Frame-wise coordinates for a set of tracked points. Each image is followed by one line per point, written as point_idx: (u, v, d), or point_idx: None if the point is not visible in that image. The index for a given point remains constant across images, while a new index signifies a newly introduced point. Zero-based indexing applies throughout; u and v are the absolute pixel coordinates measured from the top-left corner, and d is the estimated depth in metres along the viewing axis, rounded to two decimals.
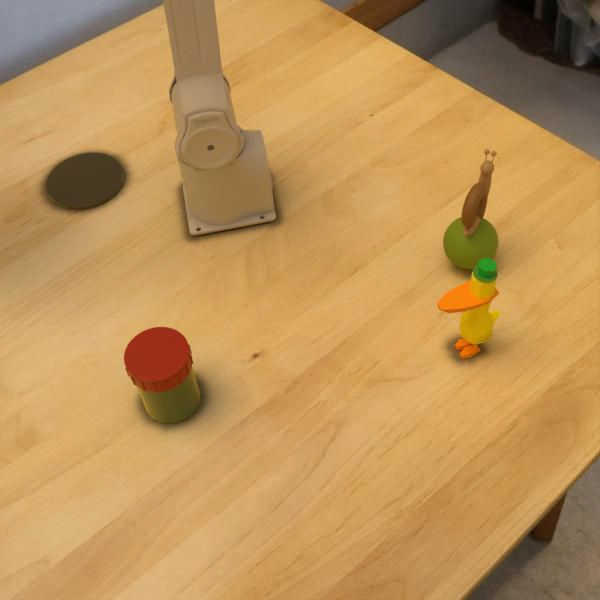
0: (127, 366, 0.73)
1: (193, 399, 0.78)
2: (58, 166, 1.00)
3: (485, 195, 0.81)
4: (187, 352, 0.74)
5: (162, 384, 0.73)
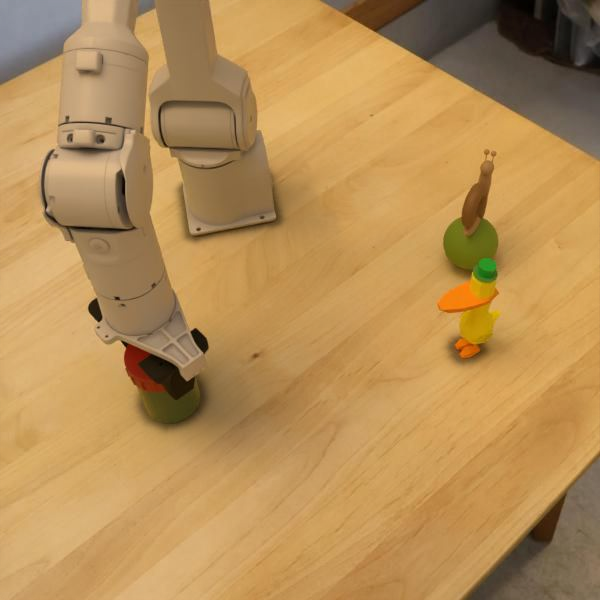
0: (127, 366, 0.73)
1: (193, 399, 0.78)
2: None
3: (485, 195, 0.81)
4: None
5: None
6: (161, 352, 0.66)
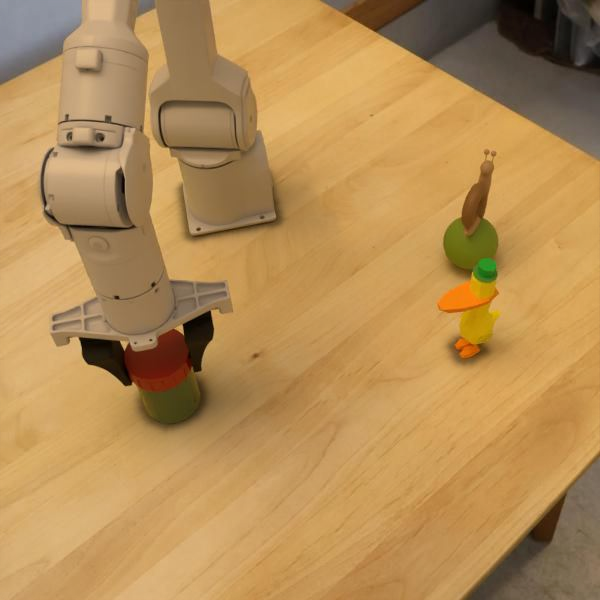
0: (152, 378, 0.72)
1: (194, 399, 0.78)
2: None
3: (485, 195, 0.81)
4: (175, 330, 0.75)
5: (188, 363, 0.74)
6: (201, 307, 0.68)
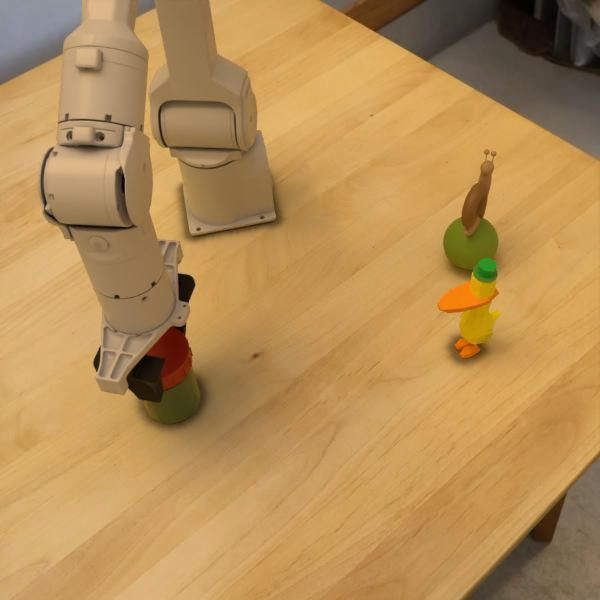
0: (182, 361, 0.73)
1: (194, 399, 0.78)
2: None
3: (485, 195, 0.81)
4: None
5: None
6: (175, 262, 0.71)
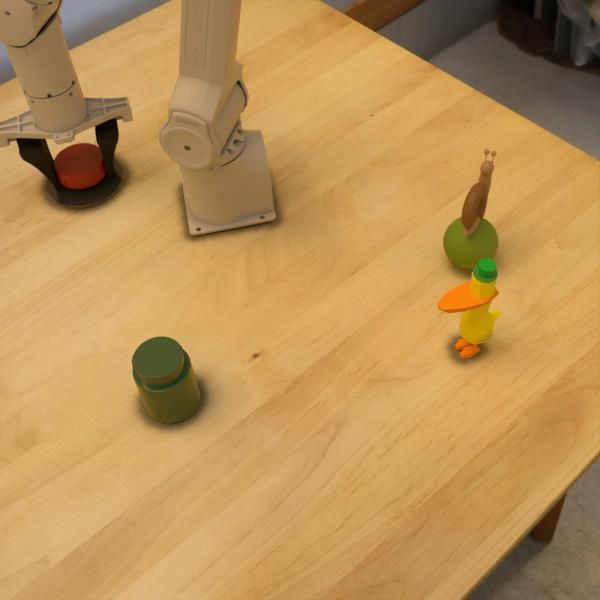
0: (74, 176, 0.95)
1: (194, 399, 0.78)
2: None
3: (485, 195, 0.81)
4: (93, 144, 0.98)
5: (103, 167, 0.97)
6: (108, 113, 0.91)
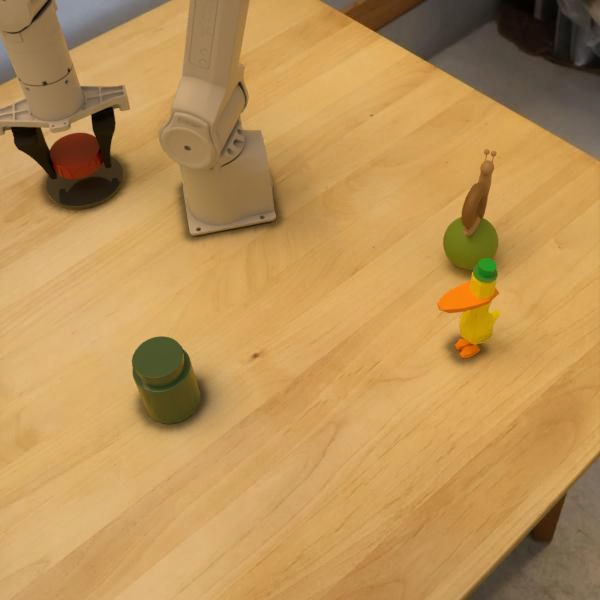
0: (70, 165, 0.94)
1: (194, 399, 0.78)
2: None
3: (485, 195, 0.81)
4: (89, 134, 0.97)
5: (99, 157, 0.95)
6: (104, 101, 0.90)
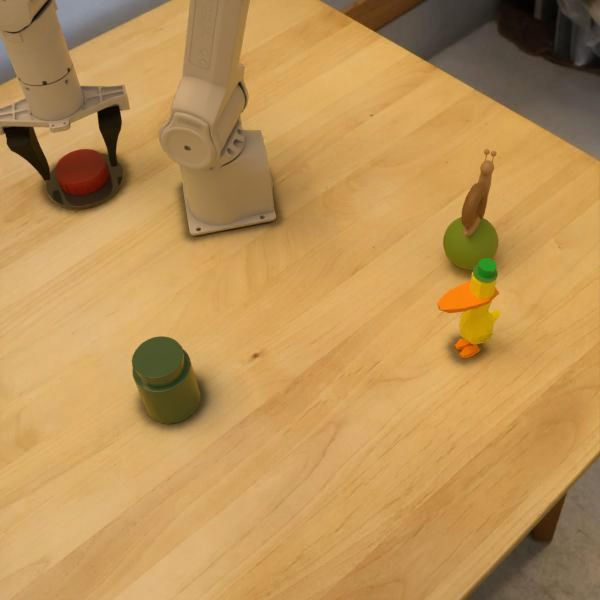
0: (76, 182, 0.96)
1: (194, 399, 0.78)
2: None
3: (485, 195, 0.81)
4: (94, 151, 0.99)
5: (104, 173, 0.97)
6: (104, 101, 0.90)
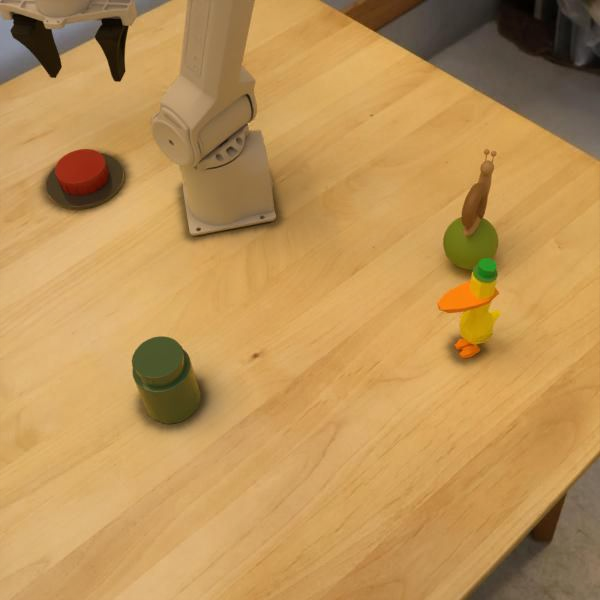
0: (76, 182, 0.96)
1: (194, 399, 0.78)
2: None
3: (485, 195, 0.81)
4: (94, 151, 0.99)
5: (104, 173, 0.97)
6: (105, 10, 0.87)
